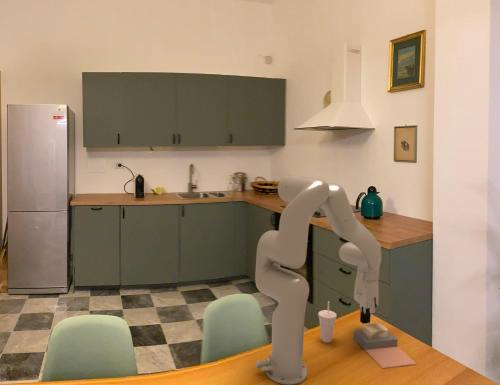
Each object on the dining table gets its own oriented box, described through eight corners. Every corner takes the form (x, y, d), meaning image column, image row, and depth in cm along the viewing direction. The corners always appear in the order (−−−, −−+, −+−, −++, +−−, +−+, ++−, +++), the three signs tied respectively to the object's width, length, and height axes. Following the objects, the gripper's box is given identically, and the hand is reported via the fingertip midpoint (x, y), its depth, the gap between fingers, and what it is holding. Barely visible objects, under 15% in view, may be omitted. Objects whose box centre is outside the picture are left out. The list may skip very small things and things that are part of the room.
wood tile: (369, 338, 134) (370, 332, 134) (362, 331, 139) (362, 325, 138) (387, 337, 136) (388, 330, 135) (380, 330, 140) (380, 323, 140)
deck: (365, 350, 132) (365, 342, 132) (353, 338, 140) (353, 330, 140) (397, 347, 135) (397, 339, 134) (383, 335, 143) (384, 327, 142)
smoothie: (338, 338, 140) (340, 301, 138) (331, 346, 134) (333, 307, 133) (321, 333, 143) (322, 297, 141) (314, 340, 138) (315, 303, 136)
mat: (382, 368, 122) (382, 367, 122) (365, 350, 132) (365, 349, 132) (416, 364, 124) (416, 363, 124) (397, 347, 135) (397, 346, 135)
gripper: (348, 268, 148) (346, 314, 150) (369, 282, 133) (366, 333, 136) (366, 267, 149) (363, 312, 152) (389, 281, 135) (385, 331, 137)
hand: (364, 322), depth 144 cm, fingers closed
